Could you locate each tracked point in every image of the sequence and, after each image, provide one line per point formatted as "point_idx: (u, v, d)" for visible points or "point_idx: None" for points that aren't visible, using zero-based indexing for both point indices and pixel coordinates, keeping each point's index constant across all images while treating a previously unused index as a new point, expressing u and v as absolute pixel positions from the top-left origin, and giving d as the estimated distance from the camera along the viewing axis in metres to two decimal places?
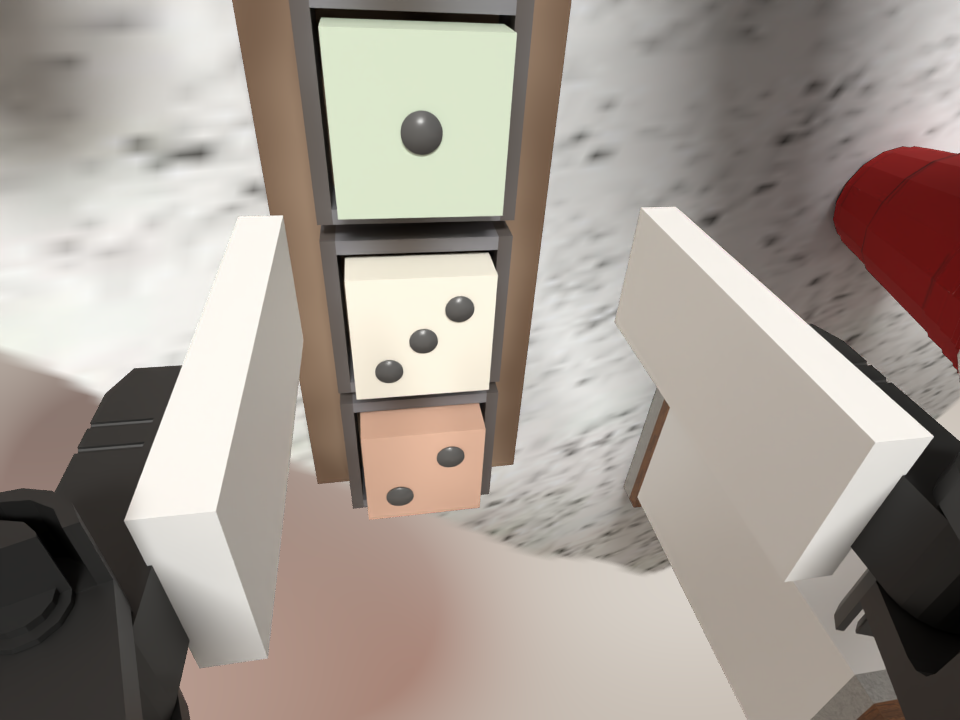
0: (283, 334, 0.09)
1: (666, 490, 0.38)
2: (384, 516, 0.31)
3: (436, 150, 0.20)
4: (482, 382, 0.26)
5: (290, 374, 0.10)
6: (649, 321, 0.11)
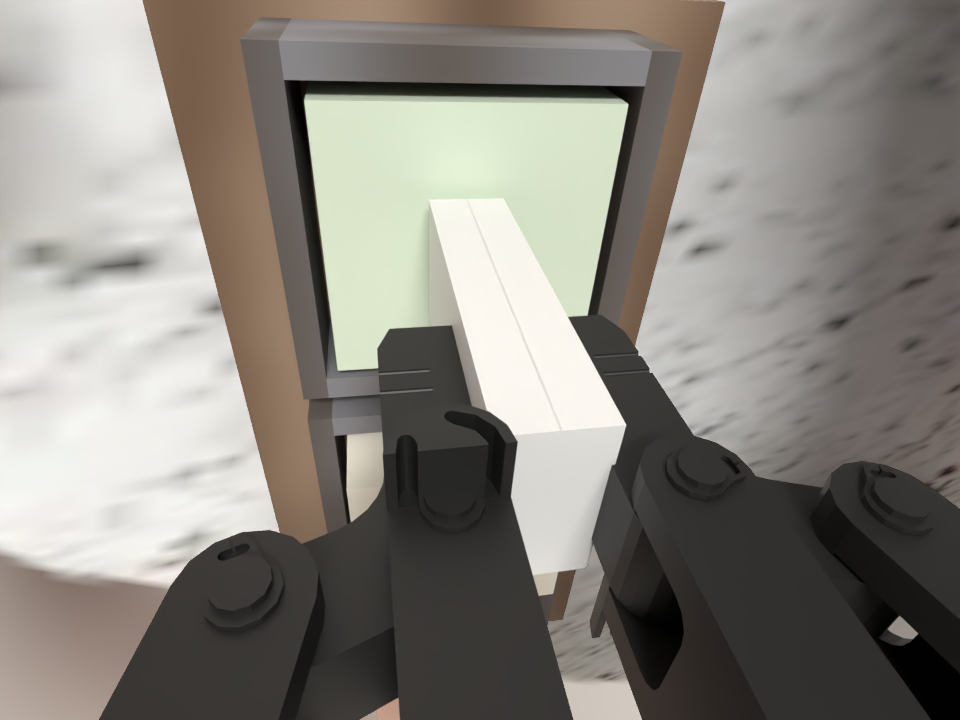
0: None
1: None
2: None
3: None
4: (545, 587, 0.18)
5: None
6: None
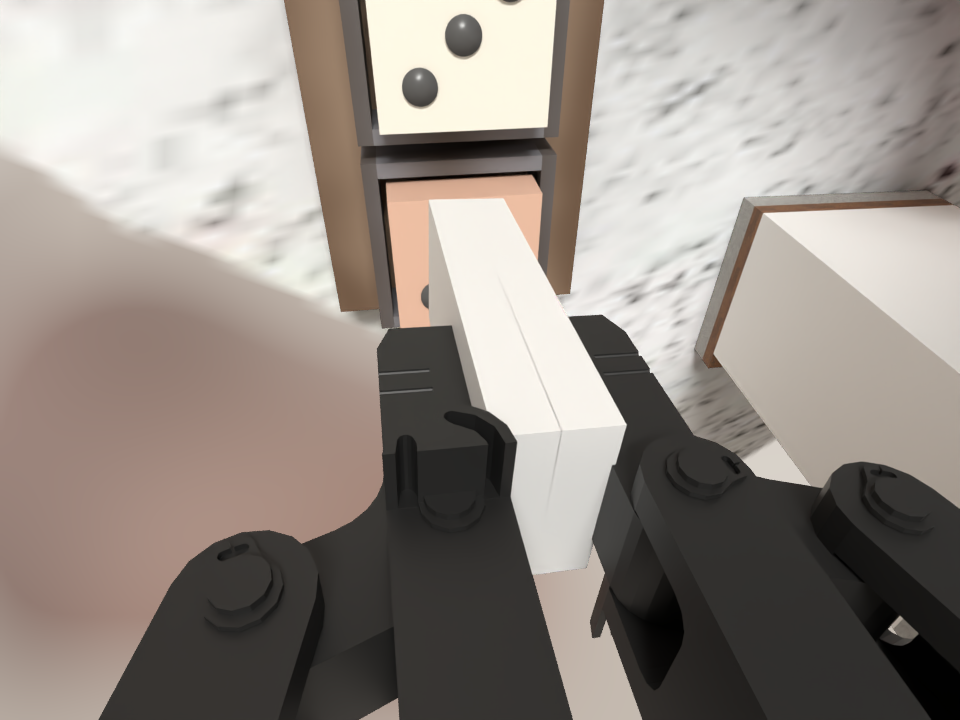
0: None
1: (754, 328, 0.32)
2: None
3: None
4: (539, 114, 0.20)
5: None
6: None
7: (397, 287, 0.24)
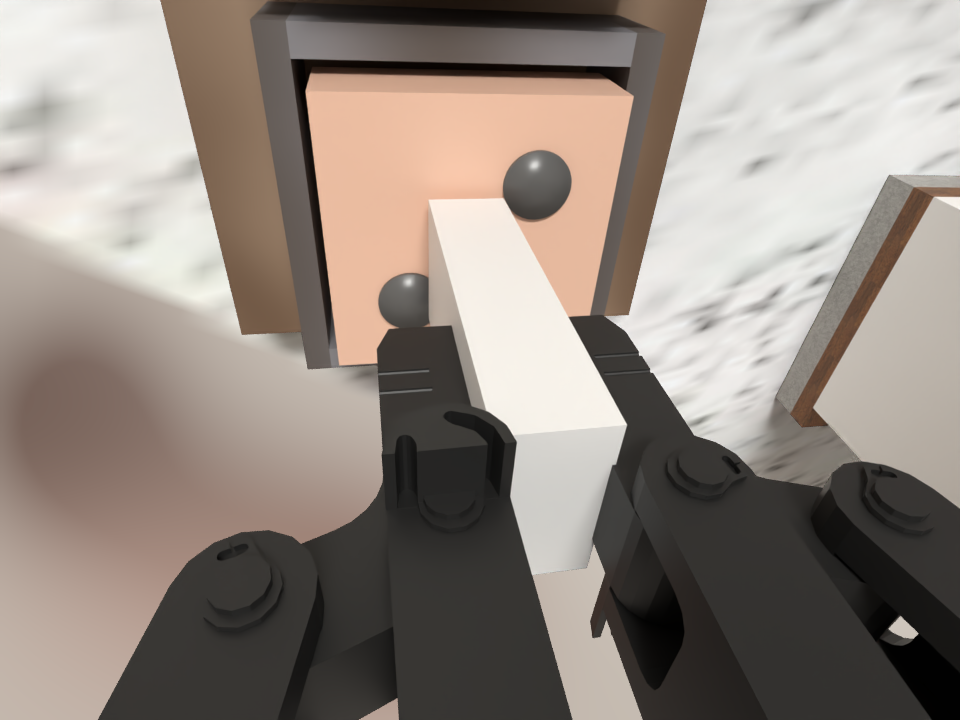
0: None
1: (904, 377, 0.21)
2: (374, 358, 0.14)
3: None
4: None
5: None
6: None
7: (331, 281, 0.12)
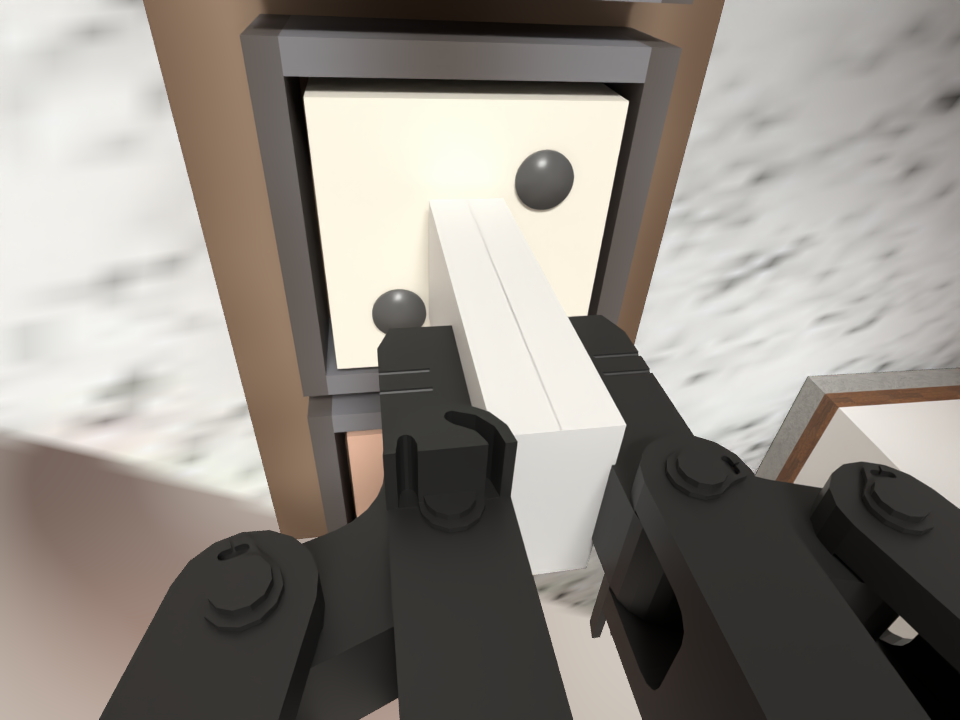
0: None
1: None
2: None
3: None
4: None
5: None
6: None
7: None
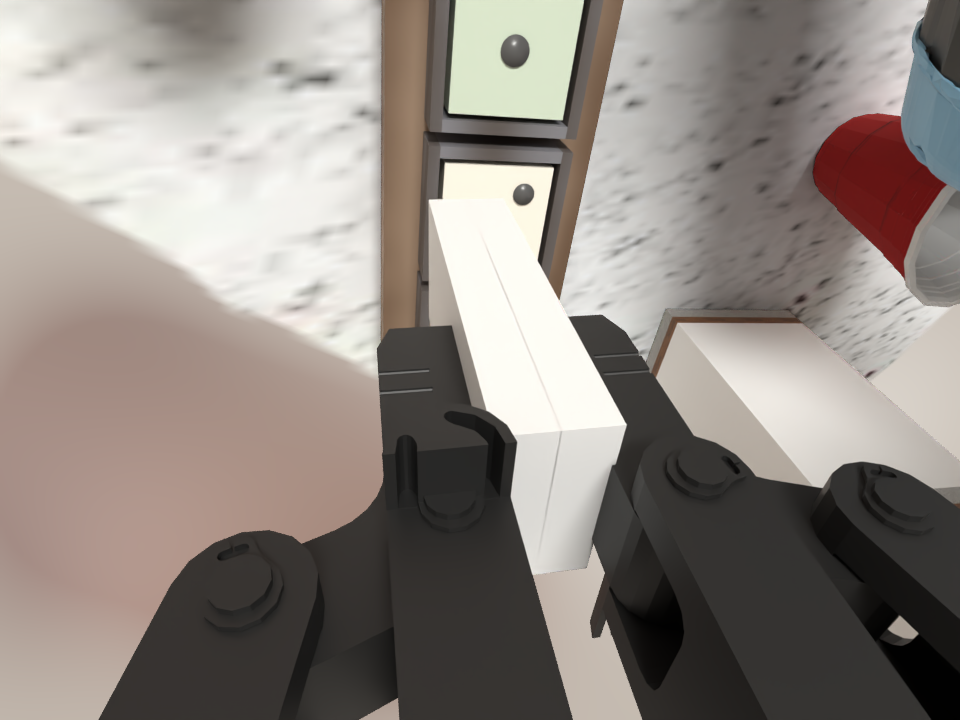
0: None
1: None
2: None
3: (523, 65, 0.28)
4: None
5: None
6: None
7: None
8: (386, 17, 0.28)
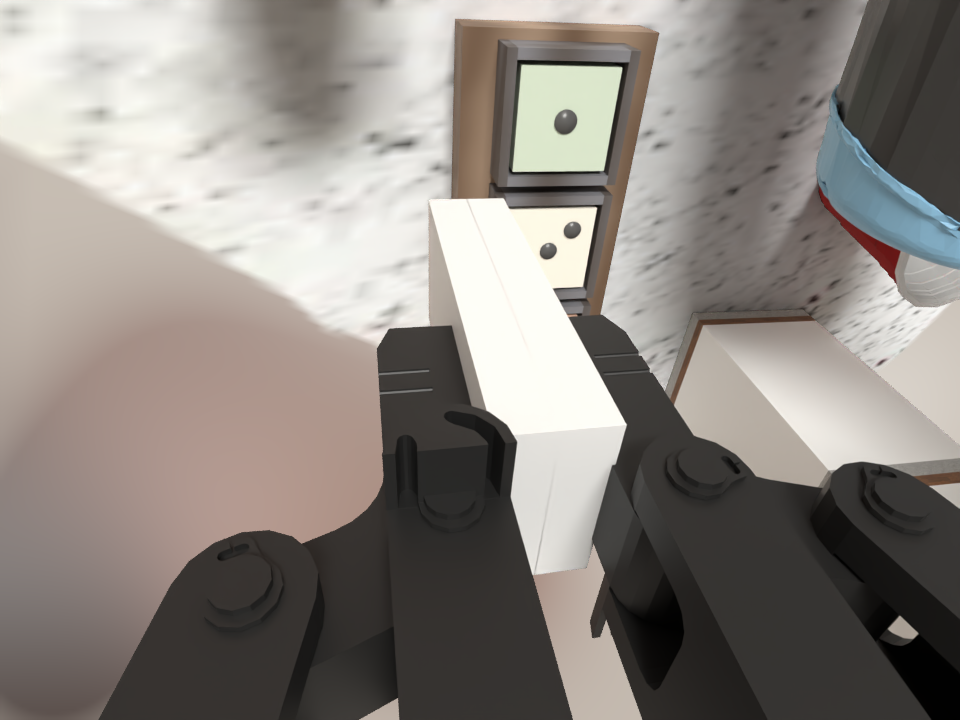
0: None
1: (698, 393, 0.52)
2: None
3: (572, 131, 0.35)
4: (579, 281, 0.42)
5: None
6: None
7: None
8: (461, 99, 0.35)
